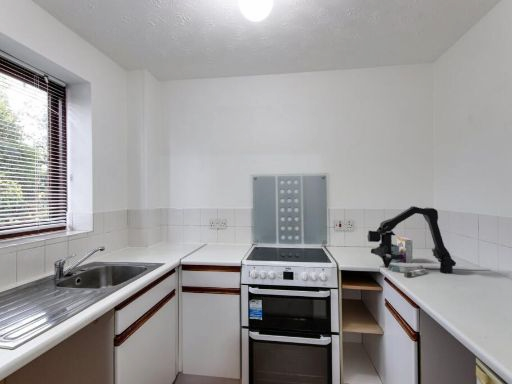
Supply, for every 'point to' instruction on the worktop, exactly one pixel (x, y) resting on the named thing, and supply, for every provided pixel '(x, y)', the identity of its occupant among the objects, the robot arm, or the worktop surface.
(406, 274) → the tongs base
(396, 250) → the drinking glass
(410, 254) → the candy bar box
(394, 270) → the hinged jaw
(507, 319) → the worktop surface
